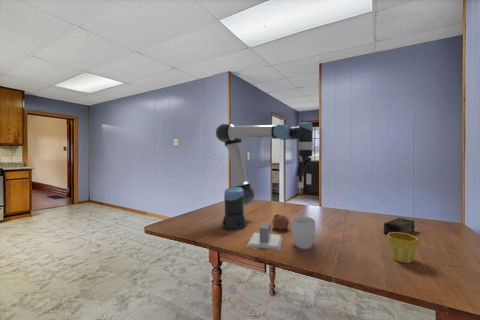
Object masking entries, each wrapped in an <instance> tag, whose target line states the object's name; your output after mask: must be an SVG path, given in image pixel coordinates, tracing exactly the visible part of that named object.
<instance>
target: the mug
mask: <svg viewBox="0 0 480 320" xmlns="http://www.w3.org/2000/svg"><path fill="white" fill-rule="evenodd" d="M290 223H291V224H290V225H291V226H290V229H291V230H290V231H291V232H290V233H291V238H292V241H293V244H294V245H295V247H296V248H298V249H300V250H301V249H302V250H309V249H311V247H312V246H313V244H314V241H315V237H316V220H315V218H313V217H310V216H294V217H292V218H291V221H290Z"/></svg>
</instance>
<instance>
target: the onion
mask: <svg viewBox="0 0 480 320" xmlns="http://www.w3.org/2000/svg"><path fill="white" fill-rule="evenodd" d="M289 223H290V221H289V218H288V216H287V215H285V214H278V213H277V214H274V217H273V218H272V226H273V228H274V229H275V230H278V231H284V230H286V229H288V227H289Z"/></svg>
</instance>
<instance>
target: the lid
mask: <svg viewBox="0 0 480 320" xmlns="http://www.w3.org/2000/svg"><path fill="white" fill-rule="evenodd" d="M253 234H254V235H253ZM253 234H252V235H253V236H252V235H251V237H252V238H251V237H250V239H251V240H250V239H249V241H250V242H249V241H248V242H249V246H257V247H266V248H276V249H278V246H279V242H280V238H281V237H282V236H281V234H274V233H272V234H271V222H267V221H266V222H265V221H262V223H260V226H259V232H254V233H253ZM266 248H265V249H266ZM276 249H275V250H276Z"/></svg>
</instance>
